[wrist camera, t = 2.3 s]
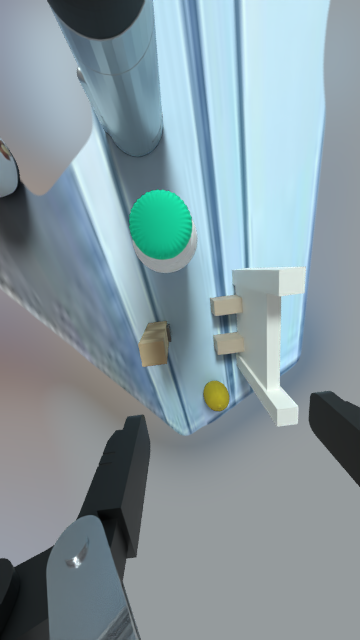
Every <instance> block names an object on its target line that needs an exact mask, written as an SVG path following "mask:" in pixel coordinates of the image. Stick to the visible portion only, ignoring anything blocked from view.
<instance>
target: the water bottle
mask: <svg viewBox="0 0 360 640" xmlns="http://www.w3.org/2000/svg"><path fill="white" fill-rule="evenodd" d="M129 217H130V220H129V224H130V226H129V229H130V233H131V236H132V240H133V246H134V249H135V252H136V254H137V256H138V258H139V259H140V260H141V262H142V263H143V264H144V265H146V266H147V267H148V268H150V269H152V270H154V271H156V272H160V273H172V272H175V271H178V270H180V269H182V268H183V267H185V266H186V265H187V264H188V263H189V262H190V260H191V259H192V257H193V255H194V253H195V250H196V247H197V231H196V227H195V224H194V222H193V220H192V217H191V216H190V212H189V210H188V208H187V206H186V205H185V204H184V201H183V200H181V199H180V197H179V196H177V195H176V194H175V193H171V192H170V191H165V190H158V189H157V190H156V191H153V190H151V191H150V192H146V194H145V195H142V196H141V198H139V199H137V202H136V203H134V205H133V208H132V209H131V213H130V215H129Z"/></svg>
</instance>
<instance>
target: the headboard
mask: <svg viewBox="0 0 360 640" xmlns="http://www.w3.org/2000/svg"><path fill="white" fill-rule="evenodd" d="M305 271H306V267H271V268H243V269H236V270H232V282H233V285H235V295H230V296H223V297H215V298H210V303H211V312H212V313H213V314H214V315H215V316H220V315H227V314H235V313H236V315H237V332H234V333H226V334H218V335H213V339H214V348H215V350H216V352H217V354H218V355H222V354H230V353H236V360H237V366H238V368H239V369H240V371H241V372H242V374H243V375H244V377H245V378H246V380H247V381H248V383H249V384H250V386H251V387H252V389H253V390H254V392H255V394H256V395H257V397H258V398H259V400H260V401H261V403H262V404H263V406H264V407H265V409H266V410H267V412H268V413H269V415H270V417H271V418H272V419H273V421H274V423H275V424H276V426H277V427H278V426H286V425H293V424H298V409H299V407H298V405H297V404H296V403H295V402H294V401H293V400H292V399H291V398H290V397H289V395H288V394H287V393H286V392H285V391H284V390H283V389H282V388H281V387H280V384H279V383H280V331H281V296H286V295H293V294H301V293H304V291H305Z"/></svg>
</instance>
